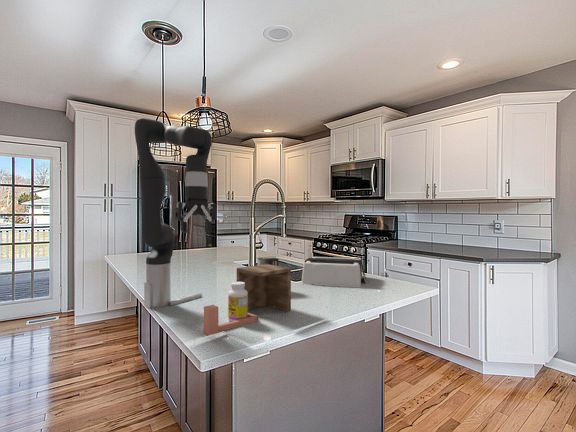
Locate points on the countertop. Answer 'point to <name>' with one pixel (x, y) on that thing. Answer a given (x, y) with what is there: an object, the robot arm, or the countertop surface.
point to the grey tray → (333, 271)
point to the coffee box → (268, 261)
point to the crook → (213, 327)
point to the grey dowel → (185, 299)
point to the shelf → (267, 286)
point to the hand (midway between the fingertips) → (196, 232)
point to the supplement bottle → (237, 302)
